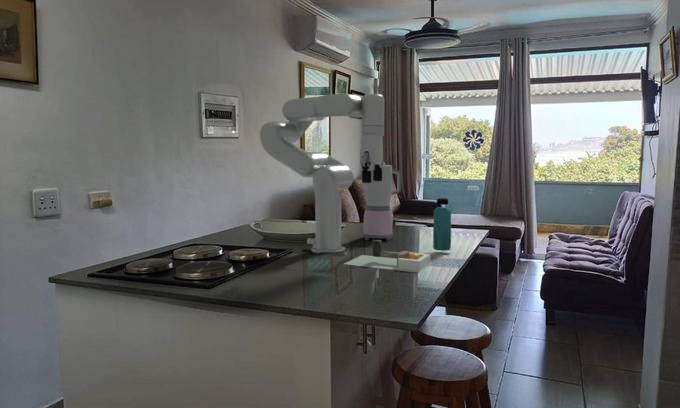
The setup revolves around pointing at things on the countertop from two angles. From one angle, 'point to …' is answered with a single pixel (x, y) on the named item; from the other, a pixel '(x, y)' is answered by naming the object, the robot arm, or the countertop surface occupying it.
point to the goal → (414, 262)
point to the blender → (380, 204)
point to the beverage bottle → (442, 226)
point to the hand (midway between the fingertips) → (372, 181)
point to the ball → (413, 256)
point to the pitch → (378, 263)
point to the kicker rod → (378, 251)
